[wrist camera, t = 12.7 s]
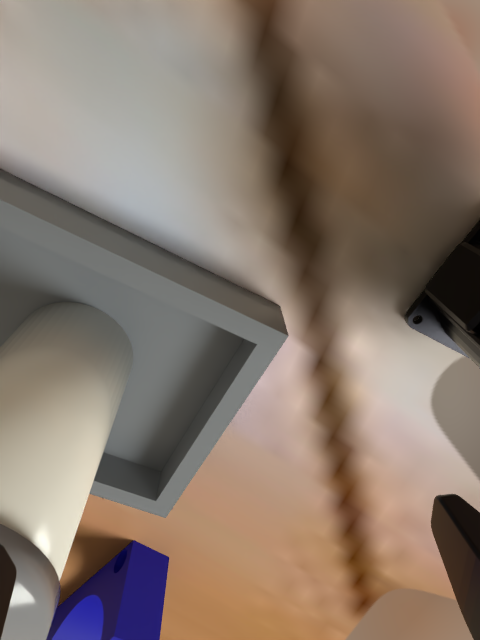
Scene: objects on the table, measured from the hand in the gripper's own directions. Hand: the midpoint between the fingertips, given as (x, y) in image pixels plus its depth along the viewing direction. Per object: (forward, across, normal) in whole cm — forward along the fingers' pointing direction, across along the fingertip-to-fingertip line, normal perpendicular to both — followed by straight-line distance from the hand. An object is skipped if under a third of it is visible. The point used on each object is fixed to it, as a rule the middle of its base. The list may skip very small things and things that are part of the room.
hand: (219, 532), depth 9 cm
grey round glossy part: (+12, +7, +2) cm, 14 cm away
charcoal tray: (+13, +8, +2) cm, 15 cm away
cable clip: (+13, +11, +23) cm, 29 cm away
